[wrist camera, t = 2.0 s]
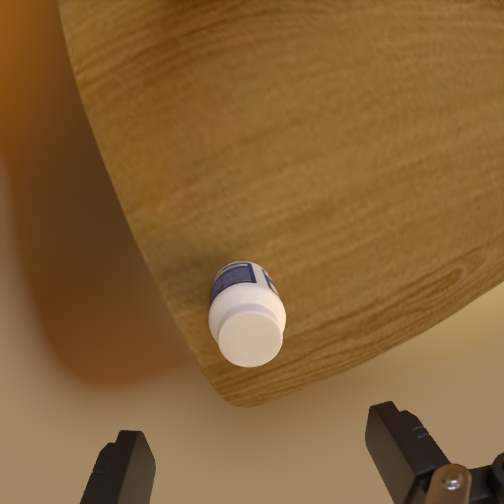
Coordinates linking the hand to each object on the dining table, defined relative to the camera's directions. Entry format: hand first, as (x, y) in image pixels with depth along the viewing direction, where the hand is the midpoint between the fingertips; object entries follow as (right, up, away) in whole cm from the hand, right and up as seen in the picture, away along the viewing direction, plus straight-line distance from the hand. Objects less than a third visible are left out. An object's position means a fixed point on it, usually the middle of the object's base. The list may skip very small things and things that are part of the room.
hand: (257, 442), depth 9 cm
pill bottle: (-1, +3, +19) cm, 19 cm away
